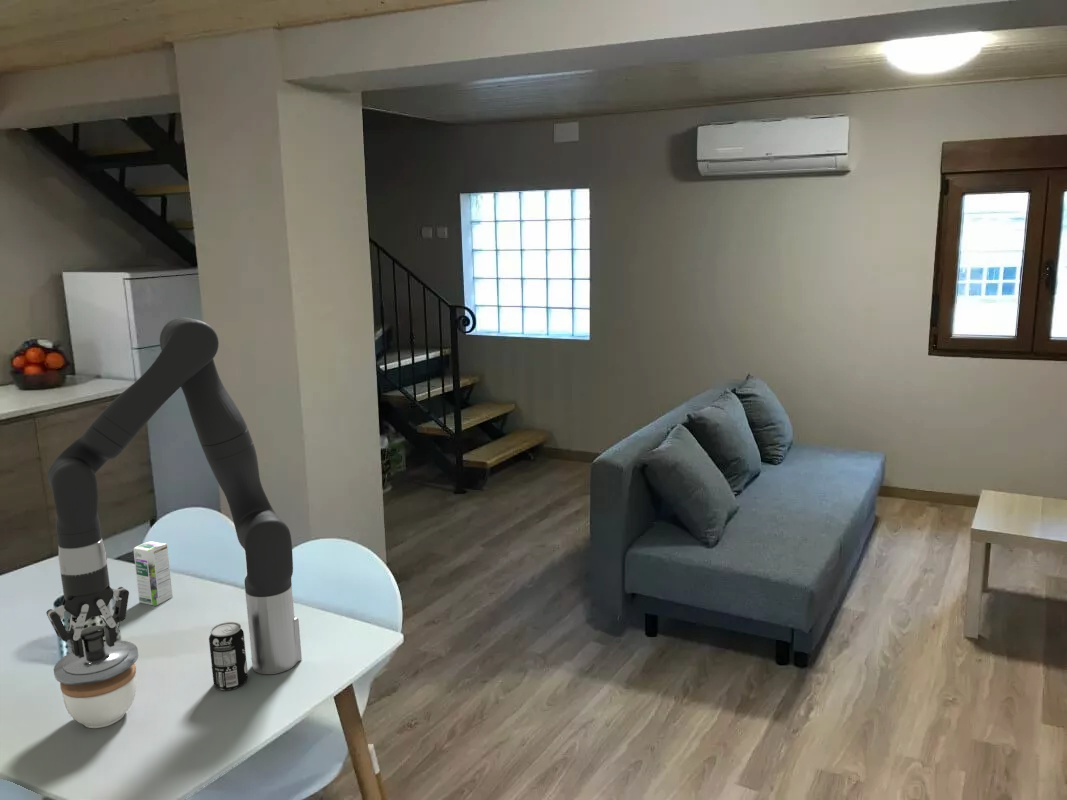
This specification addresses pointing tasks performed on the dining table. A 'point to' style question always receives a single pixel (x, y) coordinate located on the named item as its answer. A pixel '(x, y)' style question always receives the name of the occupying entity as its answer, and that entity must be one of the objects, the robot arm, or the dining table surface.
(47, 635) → the dining table surface
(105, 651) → the steel lid
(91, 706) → the lidded bowl
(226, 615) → the dining table surface
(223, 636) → the beverage can
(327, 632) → the dining table surface
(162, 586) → the syrup box
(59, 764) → the dining table surface
